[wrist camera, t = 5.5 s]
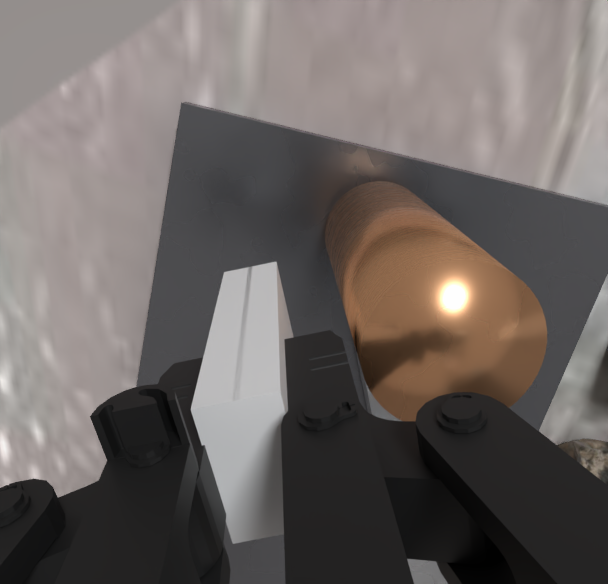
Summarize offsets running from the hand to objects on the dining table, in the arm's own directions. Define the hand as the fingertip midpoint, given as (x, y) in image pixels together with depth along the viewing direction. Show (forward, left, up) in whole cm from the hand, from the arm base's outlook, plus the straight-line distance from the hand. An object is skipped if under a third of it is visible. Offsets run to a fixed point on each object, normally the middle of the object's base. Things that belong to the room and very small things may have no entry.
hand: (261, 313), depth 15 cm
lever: (-6, -7, -5) cm, 11 cm away
